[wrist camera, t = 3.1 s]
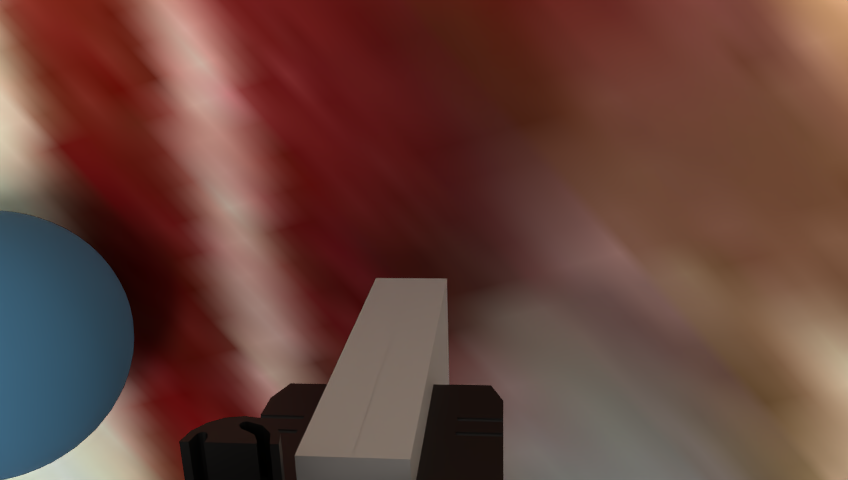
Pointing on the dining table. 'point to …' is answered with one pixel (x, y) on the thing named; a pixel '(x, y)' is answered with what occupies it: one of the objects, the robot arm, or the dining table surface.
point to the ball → (56, 342)
